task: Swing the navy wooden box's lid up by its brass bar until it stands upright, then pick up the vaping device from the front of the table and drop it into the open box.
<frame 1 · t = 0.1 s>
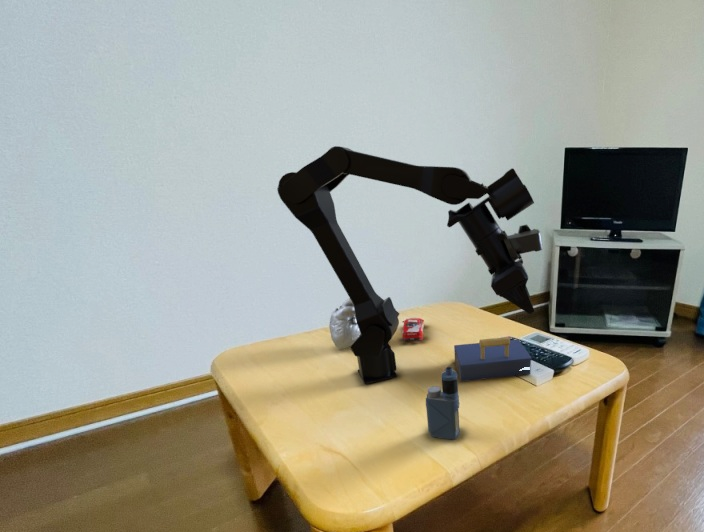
hand: (530, 304, 76), 15 cm above the table, tool tilted 35°, fingers open, 9 cm apart
box: (491, 367, 85), on the table
heart: (348, 345, 95), on the table
lid: (491, 343, 82), point 6 cm above the table, hinge at 0.0°
race car: (414, 334, 102), on the table
vaping device: (444, 435, 63), on the table
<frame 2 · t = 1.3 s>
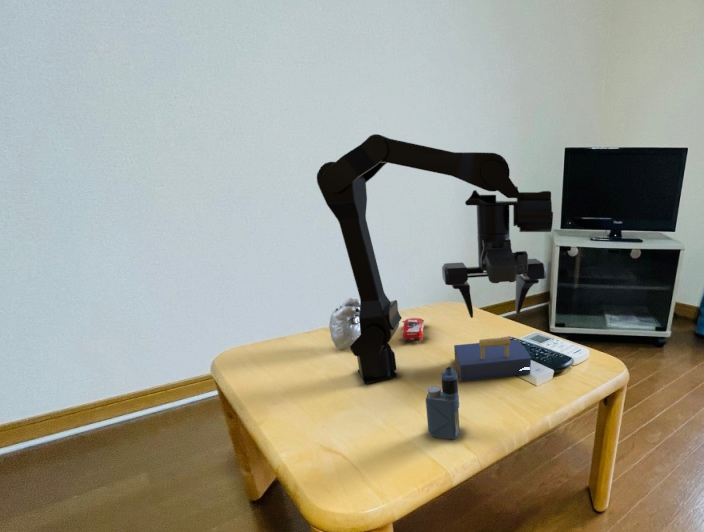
hand: (494, 315, 76), 13 cm above the table, tool pointing down, fingers open, 9 cm apart
nothing on the table moved.
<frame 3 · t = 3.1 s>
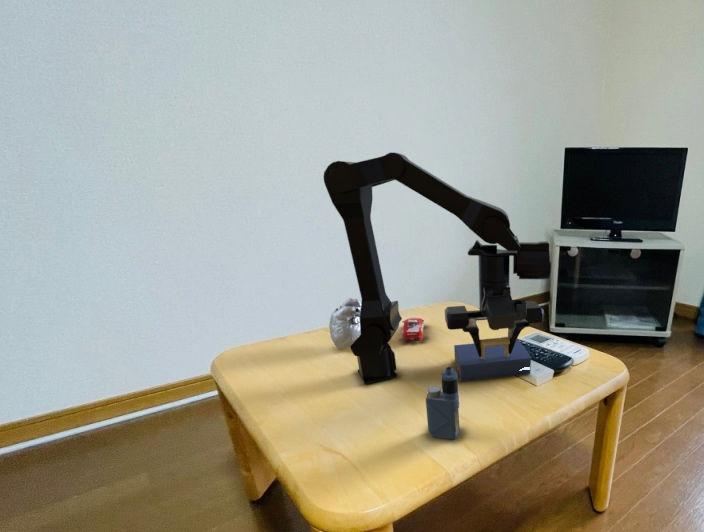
hand: (494, 354, 80), 5 cm above the table, tool pointing down, fingers closed on lid, 6 cm apart
lid: (491, 343, 82), point 6 cm above the table, hinge at 0.0°, touching gripper
everything else where it was.
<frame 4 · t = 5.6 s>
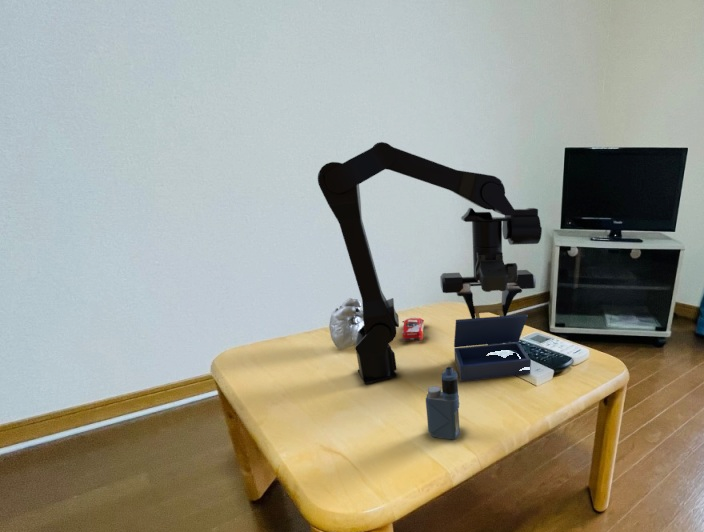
hand: (488, 321, 83), 10 cm above the table, tool pointing down, fingers closed on lid, 6 cm apart
lid: (487, 323, 84), point 9 cm above the table, hinge at 52.8°, touching gripper
everything else where it was.
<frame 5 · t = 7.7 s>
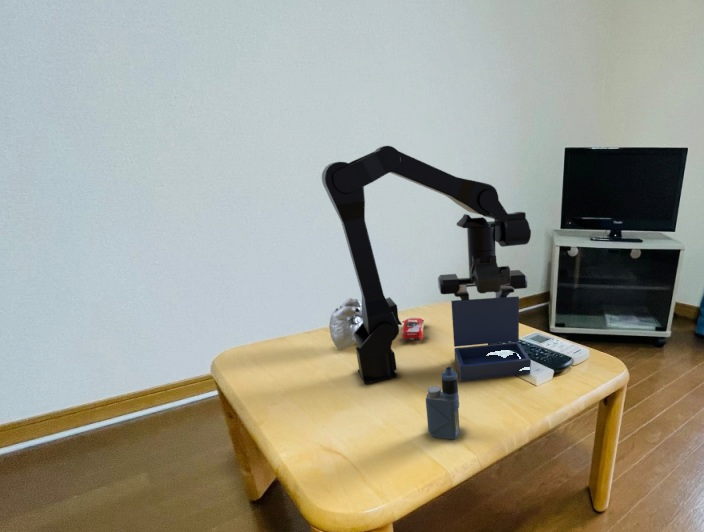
hand: (483, 318, 88), 8 cm above the table, tool pointing down, fingers closed on lid, 6 cm apart
lid: (484, 318, 87), point 9 cm above the table, hinge at 92.5°, touching gripper
everything else where it was.
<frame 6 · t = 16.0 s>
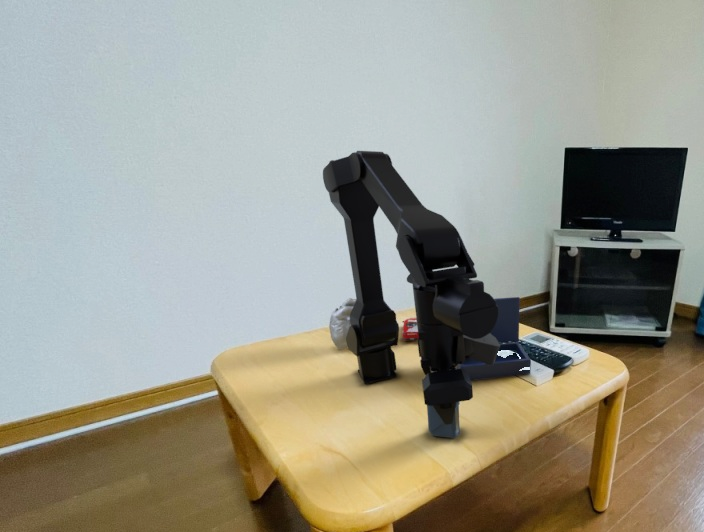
hand: (446, 413, 61), 4 cm above the table, tool pointing down, fingers closed on vaping device, 5 cm apart
lid: (484, 318, 87), point 9 cm above the table, hinge at 89.2°
vaping device: (445, 434, 63), on the table, touching gripper
everything else where it was.
when the fingers open (7 cm above the table, at t = 21.0 s): vaping device stays where it is, resting on box.
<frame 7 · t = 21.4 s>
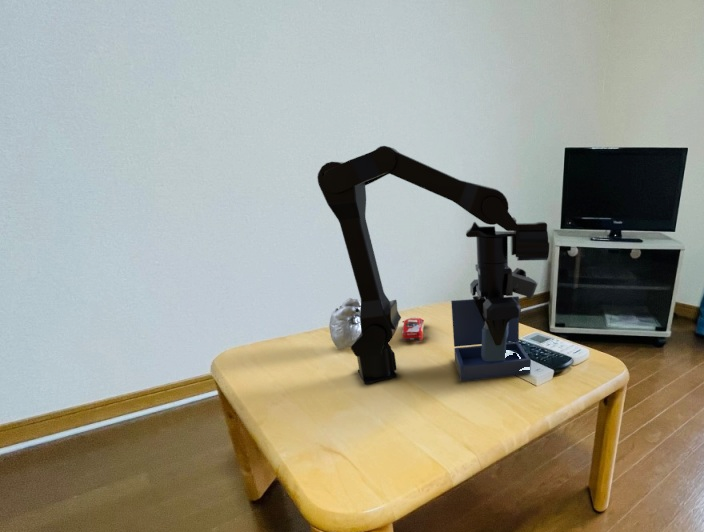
hand: (494, 338, 80), 8 cm above the table, tool pointing down, fingers open, 7 cm apart
lid: (484, 318, 87), point 9 cm above the table, hinge at 92.8°, touching gripper
vaping device: (493, 359, 81), point 3 cm above the table, touching box, gripper
everything else where it was.
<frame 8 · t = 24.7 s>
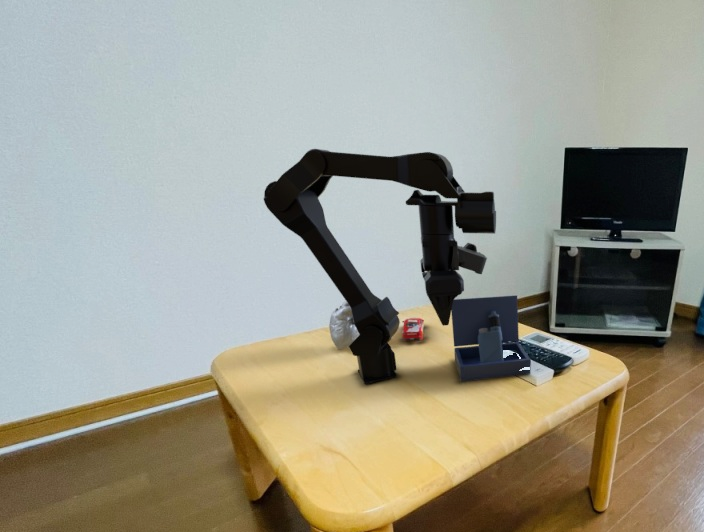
hand: (442, 316, 75), 13 cm above the table, tool pointing down, fingers open, 9 cm apart
lid: (483, 319, 88), point 8 cm above the table, hinge at 100.6°, touching vaping device
vaping device: (493, 366, 82), point 2 cm above the table, touching box, lid
everything else where it was.
at the end: lid at +101° (first picture: +0°); vaping device inside the target area on the box (2.8 cm from its centre), point 1.5 cm above the box's base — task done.
